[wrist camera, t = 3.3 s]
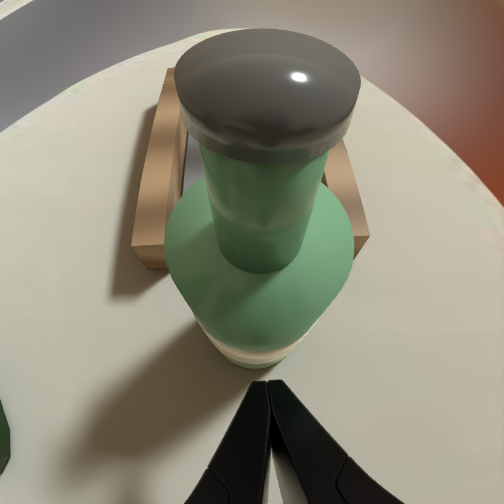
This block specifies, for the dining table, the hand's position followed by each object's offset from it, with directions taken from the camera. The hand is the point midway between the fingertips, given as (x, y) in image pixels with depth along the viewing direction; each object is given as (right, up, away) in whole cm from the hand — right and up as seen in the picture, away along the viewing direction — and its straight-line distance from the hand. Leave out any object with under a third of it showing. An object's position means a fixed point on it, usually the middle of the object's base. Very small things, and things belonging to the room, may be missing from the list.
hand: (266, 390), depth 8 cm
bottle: (0, -1, +11) cm, 11 cm away
